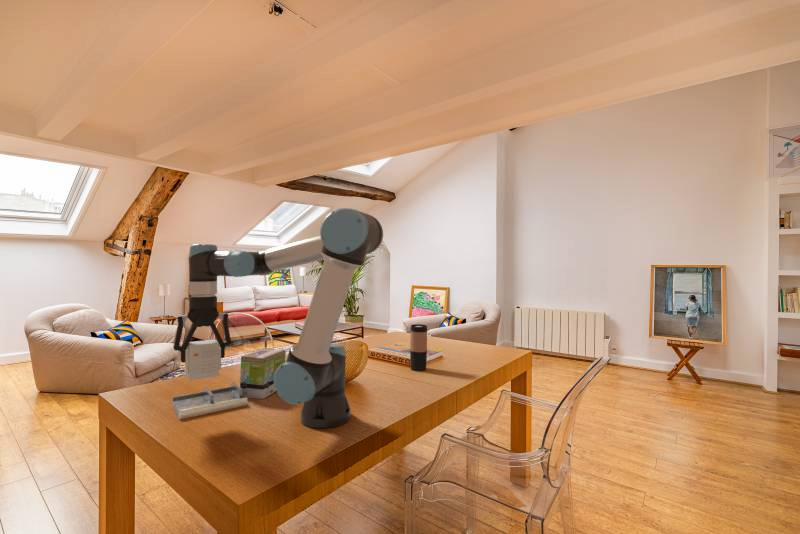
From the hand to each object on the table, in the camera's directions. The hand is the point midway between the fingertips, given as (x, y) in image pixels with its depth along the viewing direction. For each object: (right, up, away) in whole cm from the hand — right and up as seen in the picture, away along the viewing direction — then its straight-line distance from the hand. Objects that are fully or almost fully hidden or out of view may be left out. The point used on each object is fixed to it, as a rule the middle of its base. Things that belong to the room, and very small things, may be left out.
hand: (203, 370), depth 116 cm
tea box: (+9, -15, +27) cm, 32 cm away
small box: (0, -2, 0) cm, 2 cm away
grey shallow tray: (-4, -15, +13) cm, 20 cm away
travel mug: (+68, -16, +60) cm, 92 cm away
